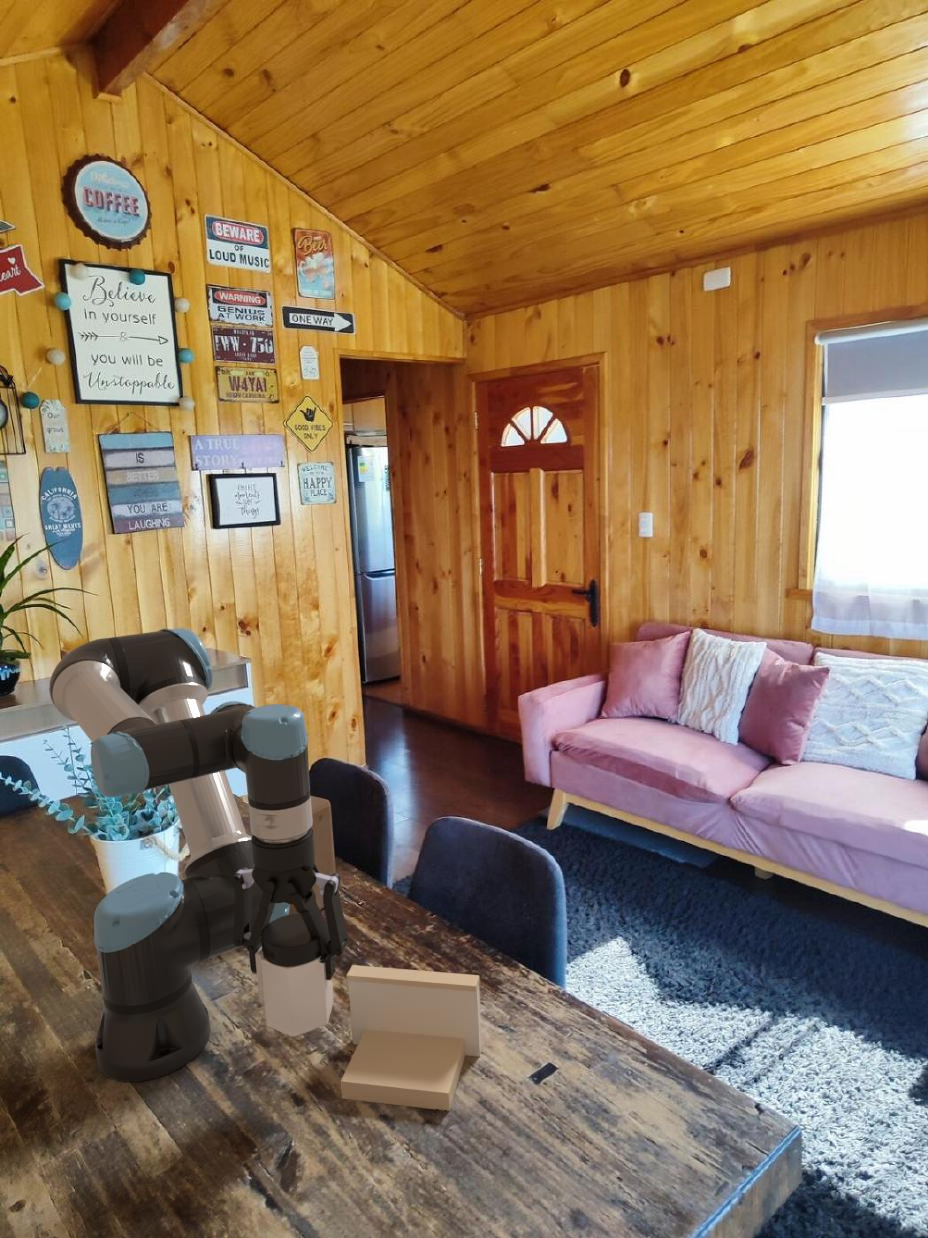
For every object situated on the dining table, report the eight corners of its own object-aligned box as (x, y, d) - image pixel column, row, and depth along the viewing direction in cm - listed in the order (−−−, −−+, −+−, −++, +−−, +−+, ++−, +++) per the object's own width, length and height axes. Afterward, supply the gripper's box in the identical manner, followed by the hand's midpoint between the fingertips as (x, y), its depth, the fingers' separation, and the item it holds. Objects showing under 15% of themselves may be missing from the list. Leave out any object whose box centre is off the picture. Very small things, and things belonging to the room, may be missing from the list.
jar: (277, 993, 110) (270, 911, 108) (337, 992, 110) (332, 910, 108) (260, 1039, 102) (252, 951, 99) (325, 1037, 101) (319, 949, 99)
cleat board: (327, 1097, 105) (321, 1020, 103) (357, 1034, 116) (352, 965, 114) (465, 1113, 101) (461, 1034, 99) (482, 1047, 113) (479, 975, 111)
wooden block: (339, 899, 154) (332, 798, 151) (302, 925, 146) (293, 818, 142) (300, 887, 159) (292, 789, 156) (262, 911, 151) (253, 808, 148)
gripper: (192, 839, 100) (208, 1007, 104) (349, 850, 96) (360, 1024, 100) (221, 813, 107) (236, 972, 111) (369, 822, 103) (378, 986, 107)
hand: (294, 996), depth 106 cm, fingers closed on jar, 7 cm apart
